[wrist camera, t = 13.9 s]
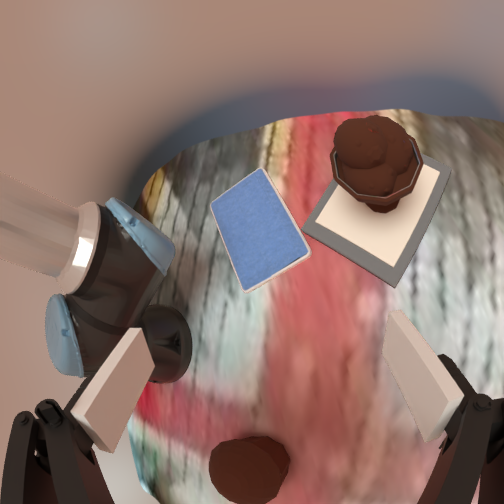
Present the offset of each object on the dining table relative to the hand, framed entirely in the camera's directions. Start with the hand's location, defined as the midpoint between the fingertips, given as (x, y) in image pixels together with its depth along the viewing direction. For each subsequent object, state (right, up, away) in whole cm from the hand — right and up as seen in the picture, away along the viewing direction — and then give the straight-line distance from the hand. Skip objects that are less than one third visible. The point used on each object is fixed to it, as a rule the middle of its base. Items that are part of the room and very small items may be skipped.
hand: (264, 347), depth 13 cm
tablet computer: (0, +9, +33) cm, 34 cm away
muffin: (+1, -27, +20) cm, 34 cm away
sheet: (+17, +13, +22) cm, 31 cm away
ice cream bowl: (+18, +13, +22) cm, 31 cm away
